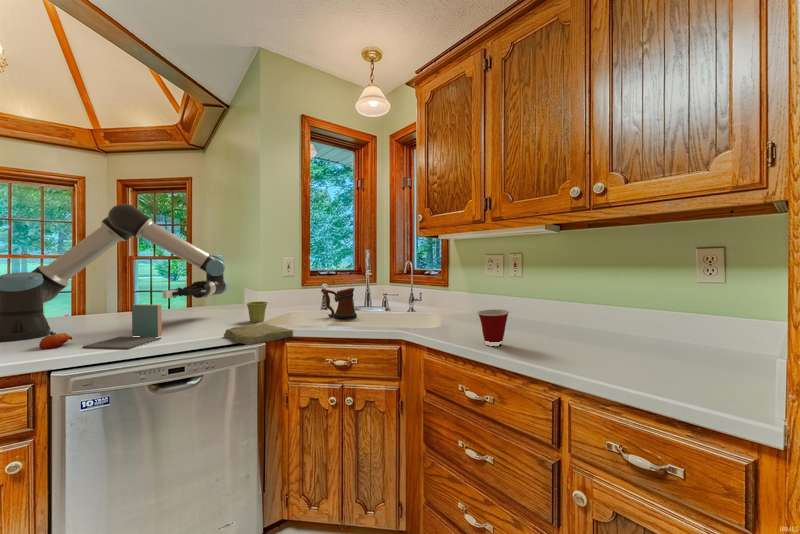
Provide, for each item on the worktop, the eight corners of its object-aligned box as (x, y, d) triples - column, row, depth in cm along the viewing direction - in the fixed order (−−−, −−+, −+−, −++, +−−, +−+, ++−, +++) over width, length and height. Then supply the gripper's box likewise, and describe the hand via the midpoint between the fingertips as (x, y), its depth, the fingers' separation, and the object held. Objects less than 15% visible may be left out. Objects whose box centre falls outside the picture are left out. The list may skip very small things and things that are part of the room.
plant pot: (272, 320, 165) (272, 302, 165) (254, 324, 158) (254, 304, 157) (259, 318, 171) (259, 301, 170) (241, 321, 163) (241, 303, 162)
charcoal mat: (82, 347, 115) (82, 346, 115) (120, 338, 129) (120, 336, 129) (128, 349, 114) (128, 347, 114) (161, 339, 127) (161, 337, 127)
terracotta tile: (132, 337, 131) (131, 305, 130) (136, 336, 132) (136, 304, 132) (157, 337, 130) (157, 305, 129) (161, 336, 132) (161, 304, 131)
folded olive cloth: (264, 330, 146) (264, 321, 146) (294, 337, 134) (294, 328, 134) (219, 338, 132) (219, 329, 132) (247, 347, 119) (247, 336, 119)
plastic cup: (474, 340, 129) (474, 308, 128) (504, 341, 128) (504, 308, 128) (480, 348, 118) (480, 313, 118) (512, 349, 118) (513, 313, 117)
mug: (317, 319, 171) (317, 288, 171) (324, 315, 183) (324, 286, 182) (354, 319, 170) (354, 288, 169) (359, 315, 181) (359, 286, 181)
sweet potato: (66, 337, 123) (68, 324, 119) (75, 352, 121) (77, 339, 118) (35, 346, 116) (35, 332, 113) (43, 361, 114) (44, 348, 111)
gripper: (216, 297, 162) (180, 304, 139) (189, 297, 163) (149, 304, 140) (215, 280, 162) (180, 285, 138) (188, 280, 163) (148, 285, 139)
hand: (164, 294), depth 139 cm, fingers closed
